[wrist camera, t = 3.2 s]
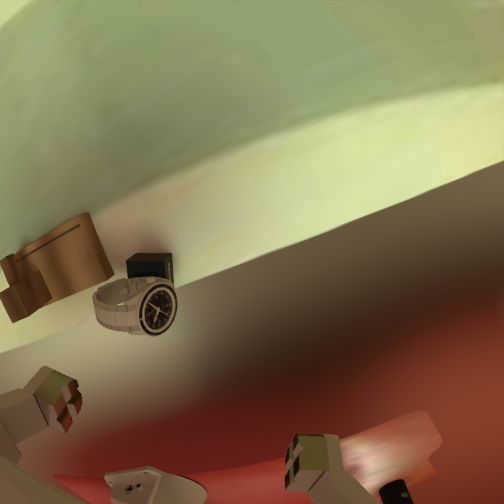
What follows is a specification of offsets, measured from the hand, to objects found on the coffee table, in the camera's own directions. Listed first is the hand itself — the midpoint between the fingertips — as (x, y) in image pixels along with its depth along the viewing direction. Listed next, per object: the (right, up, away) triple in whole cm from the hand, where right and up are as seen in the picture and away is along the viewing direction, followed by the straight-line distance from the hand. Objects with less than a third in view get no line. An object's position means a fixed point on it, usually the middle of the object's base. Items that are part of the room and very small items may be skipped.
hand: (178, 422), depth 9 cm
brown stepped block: (-26, +3, +22) cm, 34 cm away
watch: (-8, +3, +24) cm, 26 cm away
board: (-22, +5, +24) cm, 33 cm away
